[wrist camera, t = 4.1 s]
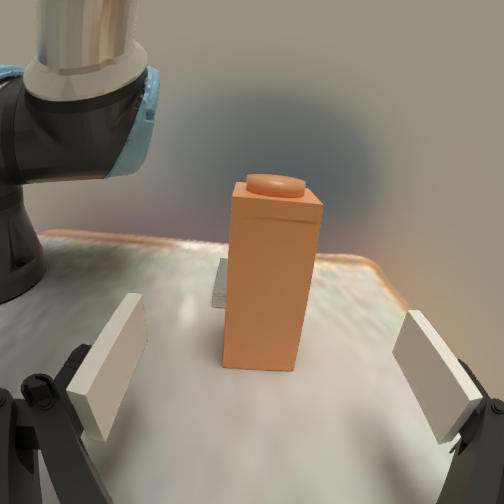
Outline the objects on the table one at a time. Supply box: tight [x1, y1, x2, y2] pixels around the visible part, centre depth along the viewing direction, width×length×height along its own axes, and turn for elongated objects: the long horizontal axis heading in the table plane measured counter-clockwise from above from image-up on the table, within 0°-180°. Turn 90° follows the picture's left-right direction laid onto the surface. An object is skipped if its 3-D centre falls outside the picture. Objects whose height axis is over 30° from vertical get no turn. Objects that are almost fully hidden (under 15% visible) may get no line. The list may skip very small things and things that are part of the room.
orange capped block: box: [223, 174, 323, 371], centre depth 21 cm, size 5×5×13 cm
